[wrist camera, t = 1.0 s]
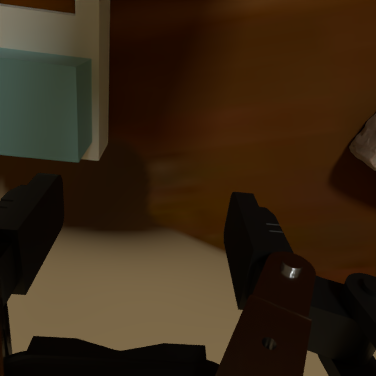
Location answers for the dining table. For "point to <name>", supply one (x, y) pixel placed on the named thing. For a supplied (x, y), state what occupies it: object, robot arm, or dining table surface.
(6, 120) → the block
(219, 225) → the dining table surface
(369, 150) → the brick
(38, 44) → the tray
